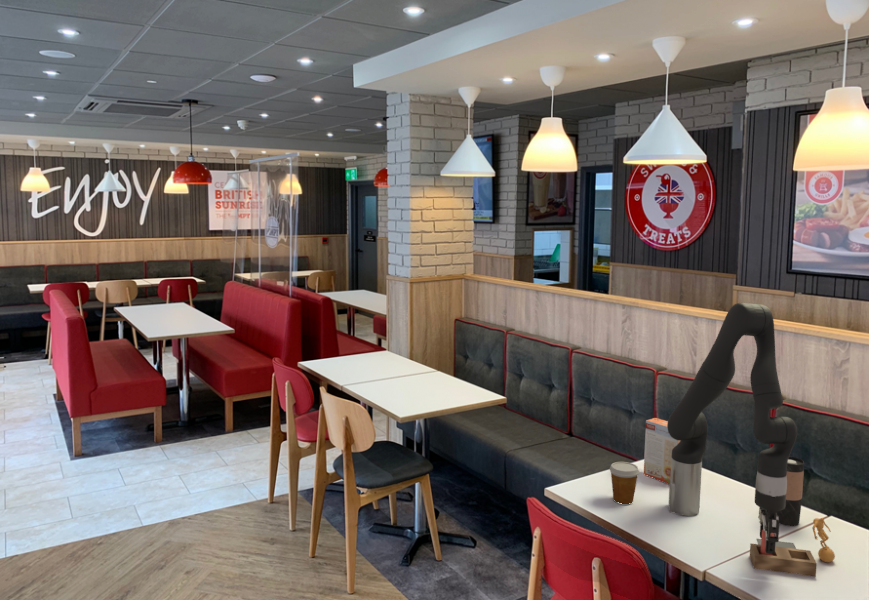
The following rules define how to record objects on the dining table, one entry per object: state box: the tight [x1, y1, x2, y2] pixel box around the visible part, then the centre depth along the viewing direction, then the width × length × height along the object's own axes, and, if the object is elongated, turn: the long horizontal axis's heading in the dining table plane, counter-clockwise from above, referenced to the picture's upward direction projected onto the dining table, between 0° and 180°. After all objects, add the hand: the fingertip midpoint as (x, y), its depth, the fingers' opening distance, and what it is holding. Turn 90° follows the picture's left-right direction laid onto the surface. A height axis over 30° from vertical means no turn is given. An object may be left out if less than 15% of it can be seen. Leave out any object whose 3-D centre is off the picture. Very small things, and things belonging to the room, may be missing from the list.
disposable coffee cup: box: [609, 461, 640, 505], centre depth 228 cm, size 10×10×12 cm
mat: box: [756, 538, 797, 549], centre depth 197 cm, size 10×8×1 cm
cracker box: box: [643, 417, 680, 485], centre depth 245 cm, size 14×6×21 cm, turn 34°
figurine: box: [812, 517, 836, 563], centre depth 189 cm, size 8×6×12 cm
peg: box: [760, 530, 774, 556], centre depth 187 cm, size 3×3×10 cm
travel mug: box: [776, 455, 805, 527], centre depth 212 cm, size 8×8×20 cm
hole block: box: [749, 543, 818, 578], centre depth 186 cm, size 15×7×4 cm, turn 74°
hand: (766, 545), depth 187 cm, fingers open, 8 cm apart
